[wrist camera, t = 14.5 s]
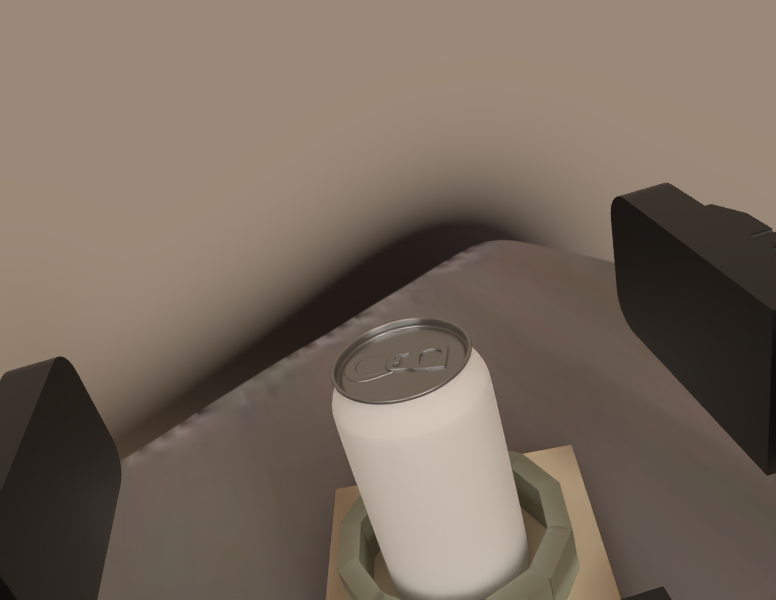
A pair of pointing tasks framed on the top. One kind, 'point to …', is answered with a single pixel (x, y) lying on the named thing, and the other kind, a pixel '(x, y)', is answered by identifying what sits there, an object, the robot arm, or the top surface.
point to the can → (430, 459)
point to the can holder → (543, 530)
